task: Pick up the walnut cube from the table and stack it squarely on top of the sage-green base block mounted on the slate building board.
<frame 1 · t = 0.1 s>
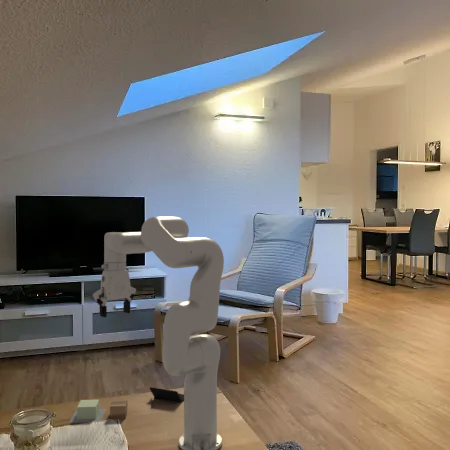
hand: (115, 314, 166), 31 cm above the table, tool pointing down, fingers open, 9 cm apart
sage base block: (88, 415, 153), resting on building board
building board: (88, 417, 153), on the table
handheld gaming console: (169, 400, 168), on the table
walnut cube: (118, 418, 153), on the table
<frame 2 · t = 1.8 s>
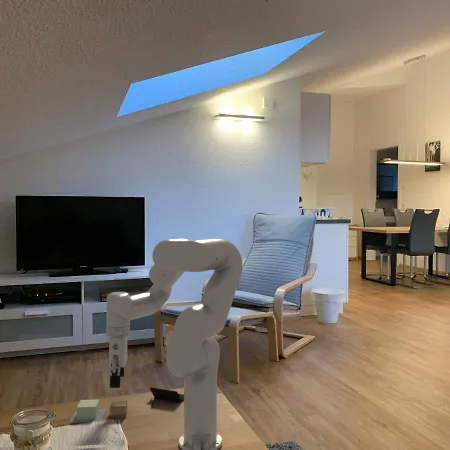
hand: (117, 381, 153), 12 cm above the table, tool pointing down, fingers open, 9 cm apart
nothing on the table moved.
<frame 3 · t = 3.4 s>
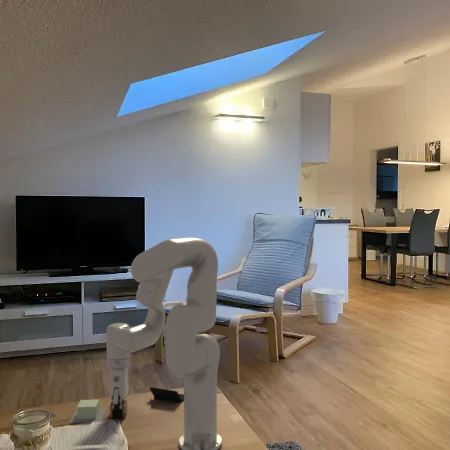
hand: (118, 416, 153), 0 cm above the table, tool pointing down, fingers closed on walnut cube, 5 cm apart
walnut cube: (118, 417, 153), on the table, touching gripper
everything else where it was.
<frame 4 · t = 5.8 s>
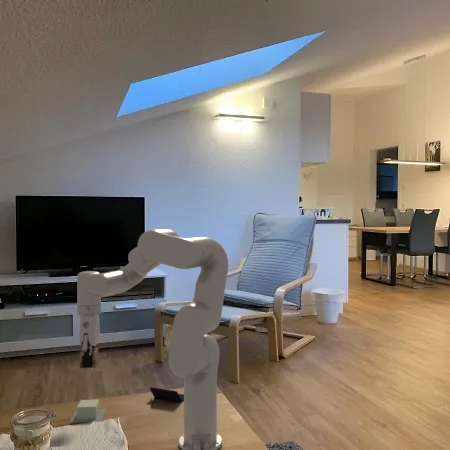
hand: (89, 363, 152), 18 cm above the table, tool pointing down, fingers closed on walnut cube, 5 cm apart
walnut cube: (89, 365, 152), point 17 cm above the table, touching gripper
everything else where it was.
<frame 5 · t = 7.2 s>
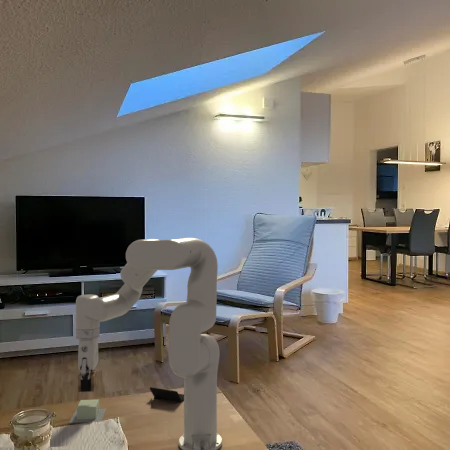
hand: (87, 387, 153), 10 cm above the table, tool pointing down, fingers closed on walnut cube, 5 cm apart
walnut cube: (87, 388, 153), point 10 cm above the table, touching gripper
everything else where it was.
when the fingers open (7 cm above the table, at t = 8.2 s): walnut cube drops 1 cm, resting on sage base block.
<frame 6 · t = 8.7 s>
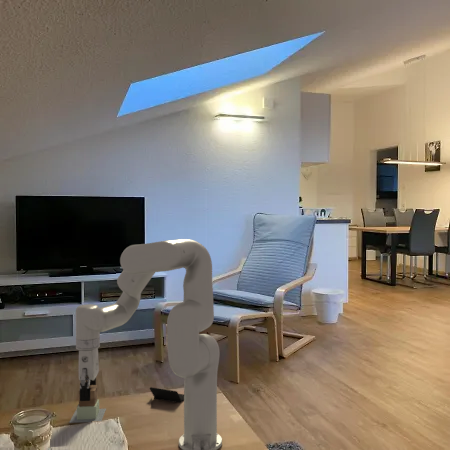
hand: (88, 394, 153), 8 cm above the table, tool pointing down, fingers open, 9 cm apart
walnut cube: (88, 403, 153), point 5 cm above the table, touching sage base block
everything else where it was.
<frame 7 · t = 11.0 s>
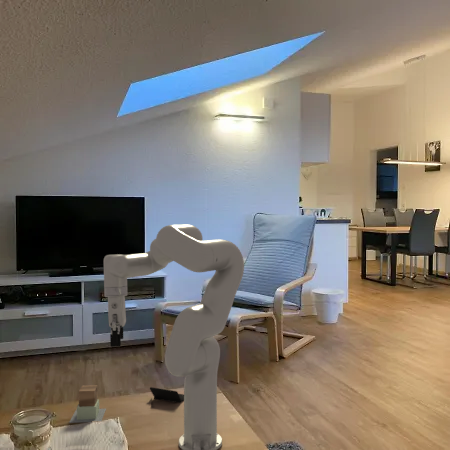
hand: (117, 342, 156), 24 cm above the table, tool pointing down, fingers open, 9 cm apart
nothing on the table moved.
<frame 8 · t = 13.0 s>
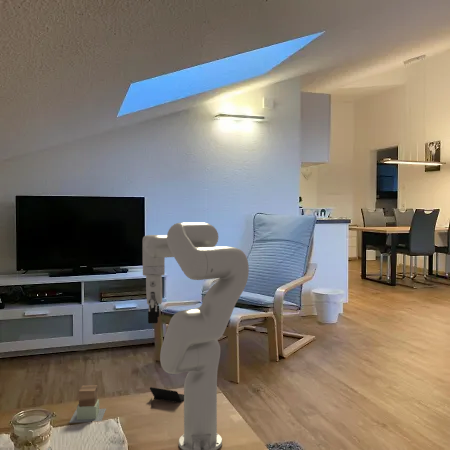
hand: (153, 319, 161), 30 cm above the table, tool pointing down, fingers open, 9 cm apart
nothing on the table moved.
at the end: walnut cube 0.1 cm off-centre on the sage base block, point 4.0 cm above the sage base block's base; walnut cube tilted 0°; the gripper is holding nothing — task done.
